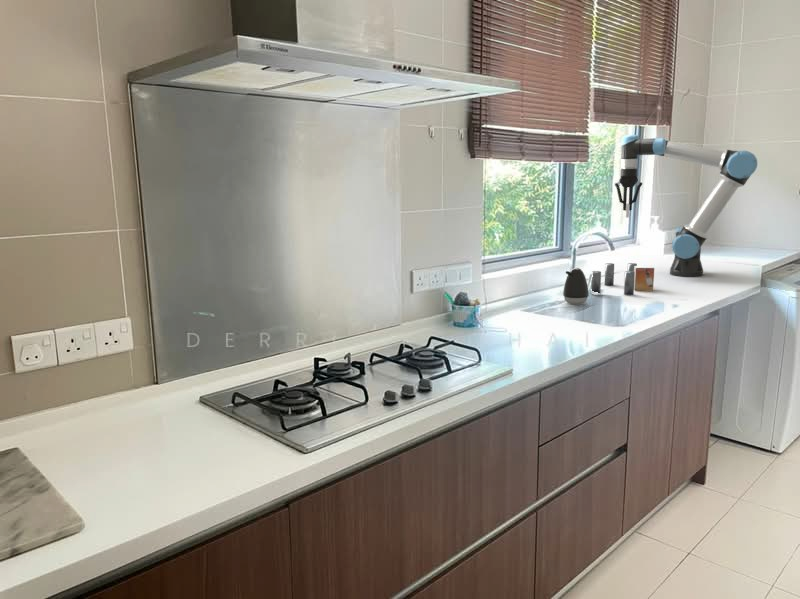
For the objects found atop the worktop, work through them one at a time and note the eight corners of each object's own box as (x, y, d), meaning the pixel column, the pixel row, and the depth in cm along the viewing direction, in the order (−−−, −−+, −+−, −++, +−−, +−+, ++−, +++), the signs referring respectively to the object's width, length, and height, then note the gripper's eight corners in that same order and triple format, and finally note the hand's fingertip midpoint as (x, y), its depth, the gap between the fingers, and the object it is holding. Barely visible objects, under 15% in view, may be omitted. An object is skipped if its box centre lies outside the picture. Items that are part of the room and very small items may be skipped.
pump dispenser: (557, 303, 269) (558, 267, 266) (577, 299, 273) (577, 264, 270) (573, 307, 260) (574, 271, 257) (593, 304, 264) (594, 268, 261)
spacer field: (635, 284, 300) (636, 263, 298) (644, 295, 277) (645, 272, 275) (586, 284, 304) (587, 263, 302) (591, 295, 281) (592, 272, 279)
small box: (634, 290, 286) (635, 267, 284) (632, 288, 292) (633, 265, 289) (653, 291, 284) (654, 267, 282) (651, 288, 290) (652, 265, 287)
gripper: (641, 167, 310) (639, 216, 315) (613, 168, 313) (612, 216, 318) (644, 167, 303) (642, 217, 308) (615, 168, 305) (614, 218, 311)
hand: (627, 217), depth 313 cm, fingers closed
